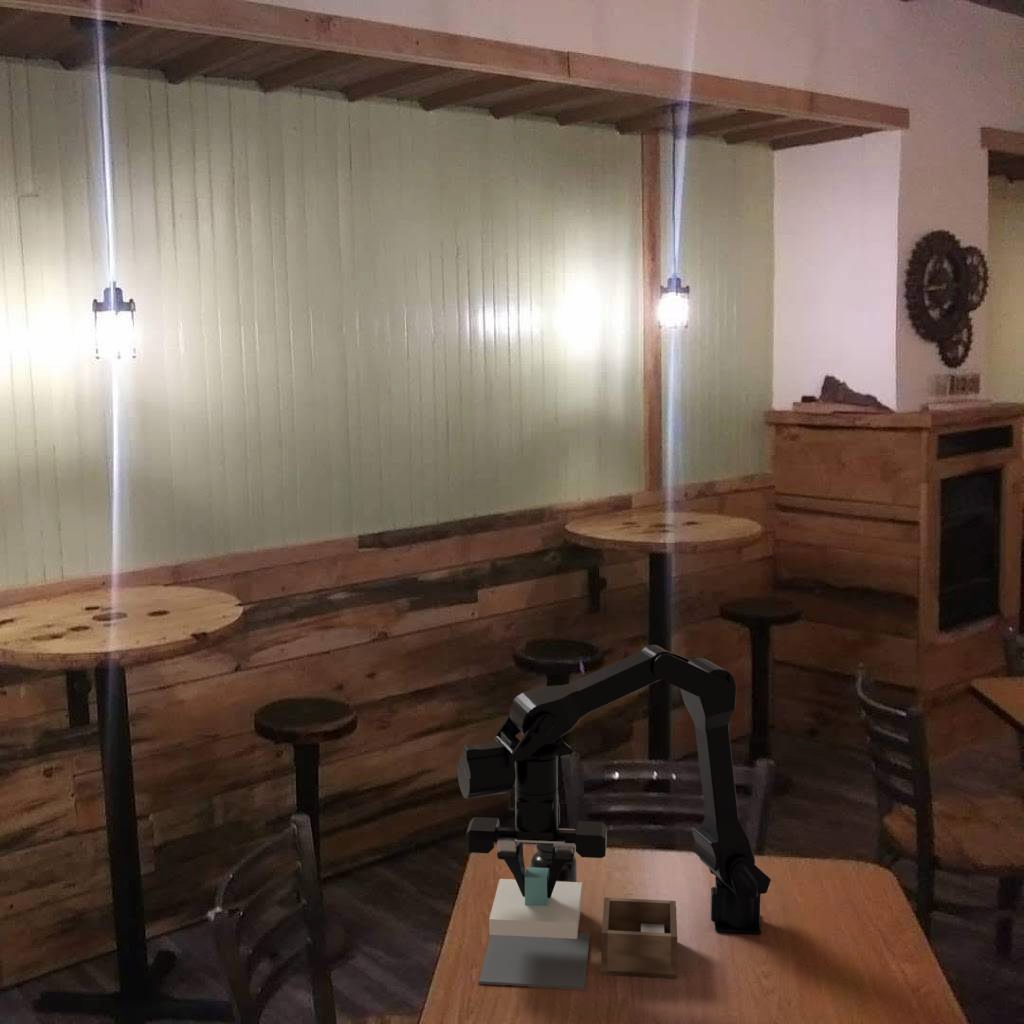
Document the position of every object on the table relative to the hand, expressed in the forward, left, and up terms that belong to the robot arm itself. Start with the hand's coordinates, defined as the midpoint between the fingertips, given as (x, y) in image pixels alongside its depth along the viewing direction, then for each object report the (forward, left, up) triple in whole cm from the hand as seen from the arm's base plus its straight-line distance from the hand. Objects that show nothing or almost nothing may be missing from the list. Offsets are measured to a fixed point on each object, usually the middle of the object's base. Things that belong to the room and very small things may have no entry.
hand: (537, 896), depth 167 cm
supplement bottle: (-1, -13, -10) cm, 16 cm away
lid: (0, 0, -3) cm, 3 cm away
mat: (0, 0, -9) cm, 9 cm away
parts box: (-14, -2, -9) cm, 17 cm away
